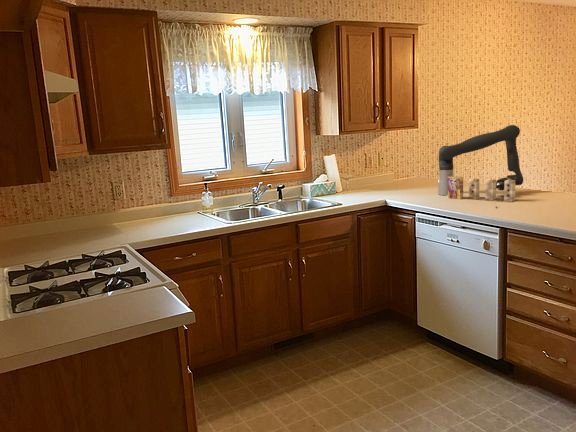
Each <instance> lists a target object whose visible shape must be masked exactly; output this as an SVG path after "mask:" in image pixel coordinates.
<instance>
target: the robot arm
mask: <svg viewBox="0 0 576 432" xmlns="http://www.w3.org/2000/svg"><path fill="white" fill-rule="evenodd" d="M520 133H521V130H520V128H519V126H517V125H516V124H515V125H514V124H509V125H507V126H505V127H504V128H501V129H499V130H496V131H492V132H486V133H482V134H479V135H475V136H473V137H470V138H467V139H465V140H464V141H462V142H460V143H456V144H453V145H443V146H441V147H440V148H439V150H438V173H439V174H438V175H439V176H438V177H439V178H438V181H437V189H438V191H437V194H438V195H440V196H448V177H450V176H453V177H455V175H454V158H456V157H458V156H460V155H463V154H467V153H468V154H469V153H473V152H477V151H479V150H483V149H486V148H489V147H491V146H493V145H495V144H498V143H500V142H501V143H502V142H505V148H506V158H507V159H506V160H507V161H506V162H507V170H508V171H509V172H513V173H514V174H510V175H506V177H505V176H504V177H501V178H498V179H496V190H499V191H504V184H505V181H506V180H515V186H521V185H523V184H524V176H523V174H522V171H521V169H520V158H519V157H520V156H519V153H518V148H517V138H518V137H519V136H520Z"/></svg>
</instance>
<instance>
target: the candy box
mask: <svg viewBox="0 0 576 432" xmlns="http://www.w3.org/2000/svg"><path fill="white" fill-rule="evenodd" d="M453 176H454V175H453ZM453 176H450V177H448V195H447V199H453V200H463V199H464V176H454V177H453Z"/></svg>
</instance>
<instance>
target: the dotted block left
mask: <svg viewBox="0 0 576 432" xmlns="http://www.w3.org/2000/svg"><path fill="white" fill-rule="evenodd" d="M468 196H469V198H472V199H477V198H479V197H480V178H473V177H472V178H470V179H468Z"/></svg>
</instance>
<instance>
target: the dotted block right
mask: <svg viewBox="0 0 576 432" xmlns="http://www.w3.org/2000/svg"><path fill="white" fill-rule="evenodd" d="M503 193H504V194H503V195H504V196H503V199H504V201H514V200H515V199H516V185H515V180H506V181H505V184H504V190H503Z"/></svg>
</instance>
